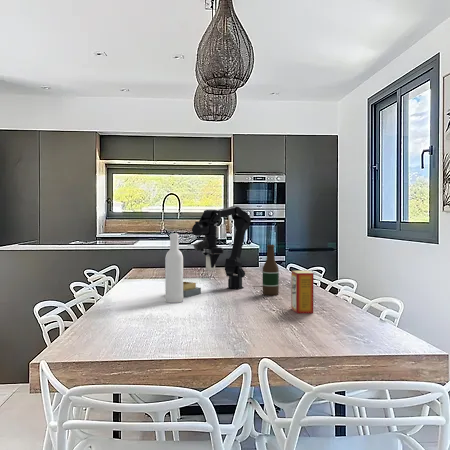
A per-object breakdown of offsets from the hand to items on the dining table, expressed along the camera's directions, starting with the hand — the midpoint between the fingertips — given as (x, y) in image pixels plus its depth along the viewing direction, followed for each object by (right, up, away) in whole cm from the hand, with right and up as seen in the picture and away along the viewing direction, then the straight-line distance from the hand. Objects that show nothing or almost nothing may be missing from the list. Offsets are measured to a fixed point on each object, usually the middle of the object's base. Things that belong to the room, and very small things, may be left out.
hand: (210, 267), depth 237 cm
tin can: (0, -2, 0) cm, 2 cm away
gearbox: (-14, -13, -4) cm, 19 cm away
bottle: (-15, -13, -23) cm, 31 cm away
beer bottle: (+29, -13, -4) cm, 32 cm away
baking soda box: (+38, -14, -44) cm, 60 cm away
